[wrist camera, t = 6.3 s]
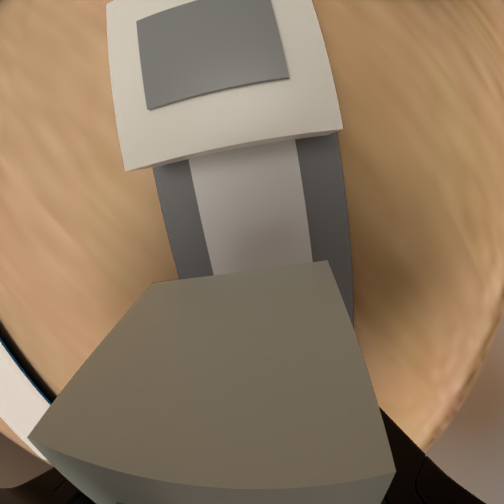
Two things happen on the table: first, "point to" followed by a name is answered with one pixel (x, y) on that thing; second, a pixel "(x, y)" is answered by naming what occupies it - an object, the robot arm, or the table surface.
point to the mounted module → (216, 76)
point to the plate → (19, 398)
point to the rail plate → (259, 210)
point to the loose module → (225, 398)
